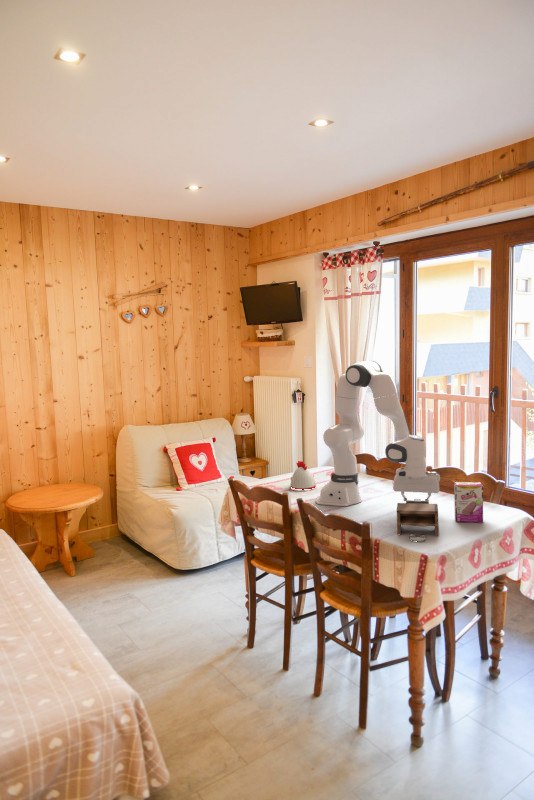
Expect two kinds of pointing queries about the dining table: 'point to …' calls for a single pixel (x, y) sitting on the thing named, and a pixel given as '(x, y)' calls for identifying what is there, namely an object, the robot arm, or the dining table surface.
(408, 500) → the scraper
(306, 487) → the kitchen timer
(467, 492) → the candy bar box
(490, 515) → the dining table surface
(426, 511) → the walnut cabinet
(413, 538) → the steel puck
